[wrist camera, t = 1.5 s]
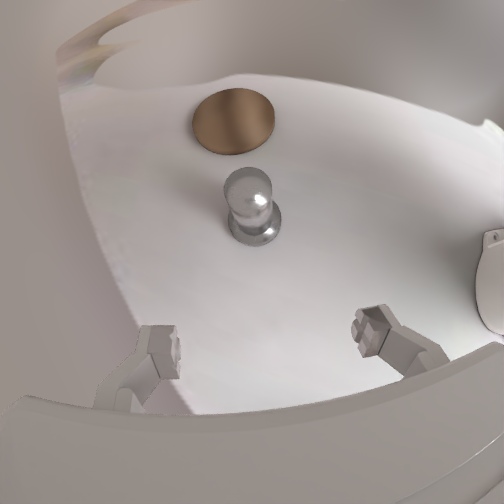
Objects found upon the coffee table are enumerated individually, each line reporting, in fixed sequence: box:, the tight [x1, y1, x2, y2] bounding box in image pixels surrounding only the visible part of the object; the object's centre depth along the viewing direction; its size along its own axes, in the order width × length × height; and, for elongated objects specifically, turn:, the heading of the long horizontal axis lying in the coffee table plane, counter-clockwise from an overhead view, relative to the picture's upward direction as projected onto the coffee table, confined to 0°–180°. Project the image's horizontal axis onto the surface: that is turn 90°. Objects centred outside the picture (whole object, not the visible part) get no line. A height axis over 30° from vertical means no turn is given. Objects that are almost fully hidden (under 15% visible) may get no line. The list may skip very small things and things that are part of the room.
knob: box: [224, 167, 281, 246], centre depth 30 cm, size 6×6×10 cm
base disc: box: [192, 88, 275, 155], centre depth 38 cm, size 12×12×2 cm
